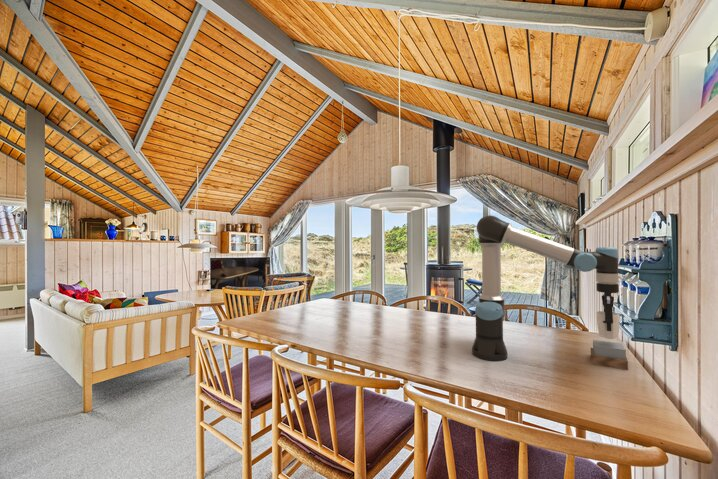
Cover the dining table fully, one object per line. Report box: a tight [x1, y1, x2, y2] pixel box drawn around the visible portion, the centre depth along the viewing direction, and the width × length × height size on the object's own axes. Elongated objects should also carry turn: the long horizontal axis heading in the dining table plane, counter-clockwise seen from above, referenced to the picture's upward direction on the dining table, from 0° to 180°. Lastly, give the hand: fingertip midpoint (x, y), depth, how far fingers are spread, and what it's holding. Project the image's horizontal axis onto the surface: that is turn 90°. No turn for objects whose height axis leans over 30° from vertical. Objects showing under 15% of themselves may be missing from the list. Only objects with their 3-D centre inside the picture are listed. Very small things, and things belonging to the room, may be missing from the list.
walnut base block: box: [590, 347, 629, 371], centre depth 135 cm, size 12×12×4 cm
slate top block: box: [592, 339, 627, 360], centre depth 135 cm, size 10×10×4 cm
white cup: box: [595, 310, 621, 340], centre depth 135 cm, size 8×8×10 cm
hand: (608, 335), depth 135 cm, fingers closed on white cup, 8 cm apart
